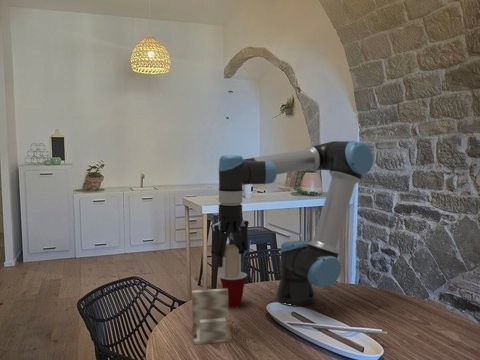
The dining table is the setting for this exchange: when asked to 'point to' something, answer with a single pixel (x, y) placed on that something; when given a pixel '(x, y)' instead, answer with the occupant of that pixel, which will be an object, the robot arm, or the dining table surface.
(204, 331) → the beige u-shaped bracket
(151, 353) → the dining table surface
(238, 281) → the plastic cup
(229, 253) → the candle
